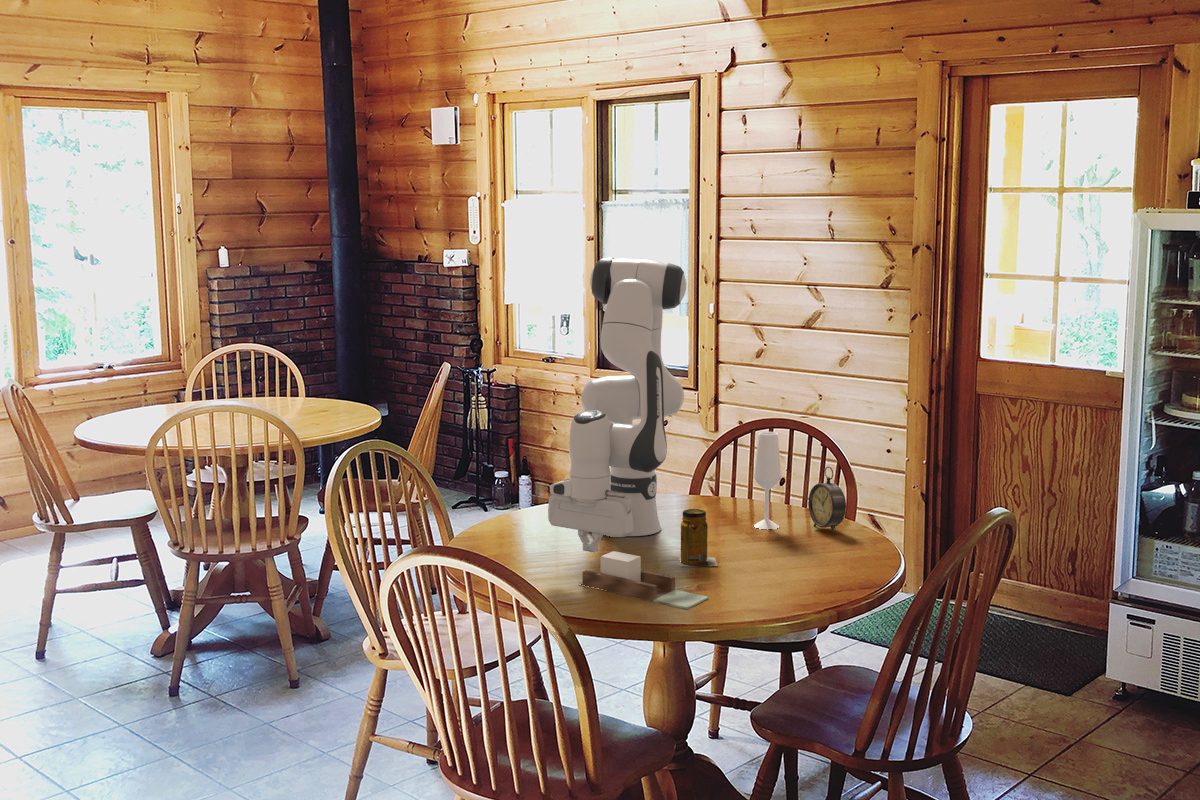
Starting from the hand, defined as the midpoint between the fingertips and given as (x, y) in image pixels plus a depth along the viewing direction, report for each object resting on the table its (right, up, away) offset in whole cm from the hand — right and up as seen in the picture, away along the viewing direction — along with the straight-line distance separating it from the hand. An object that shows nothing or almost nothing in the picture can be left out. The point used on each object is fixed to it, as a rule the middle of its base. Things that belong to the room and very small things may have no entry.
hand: (590, 551), depth 252 cm
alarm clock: (+59, 0, +42) cm, 73 cm away
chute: (+11, -8, -7) cm, 15 cm away
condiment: (+24, -5, +15) cm, 29 cm away
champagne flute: (+44, 0, +45) cm, 63 cm away
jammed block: (+6, -6, -3) cm, 10 cm away
